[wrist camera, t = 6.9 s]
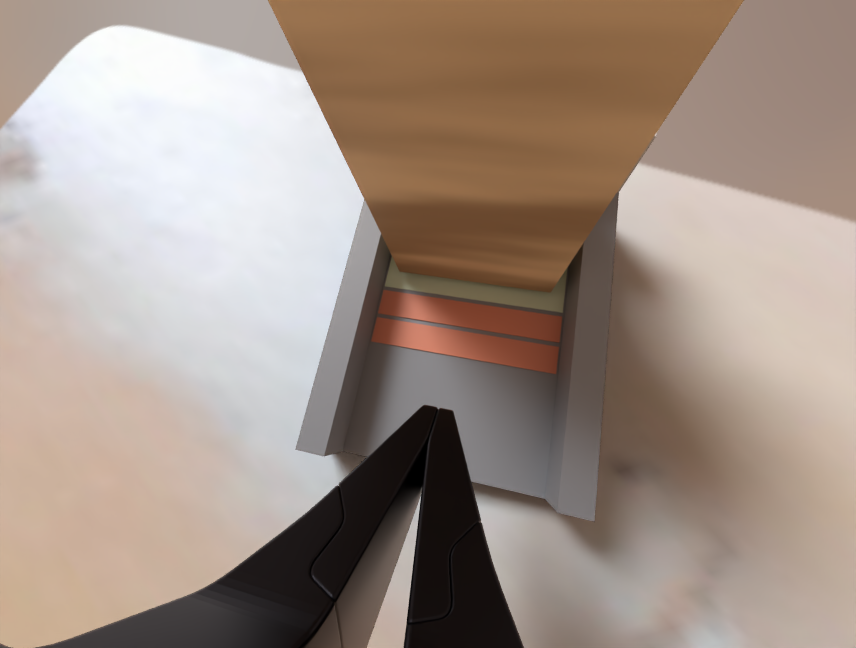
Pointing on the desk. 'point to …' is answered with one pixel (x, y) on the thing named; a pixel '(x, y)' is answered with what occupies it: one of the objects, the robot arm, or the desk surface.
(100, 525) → the desk surface
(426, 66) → the oak slider
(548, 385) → the rail box
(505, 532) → the desk surface
